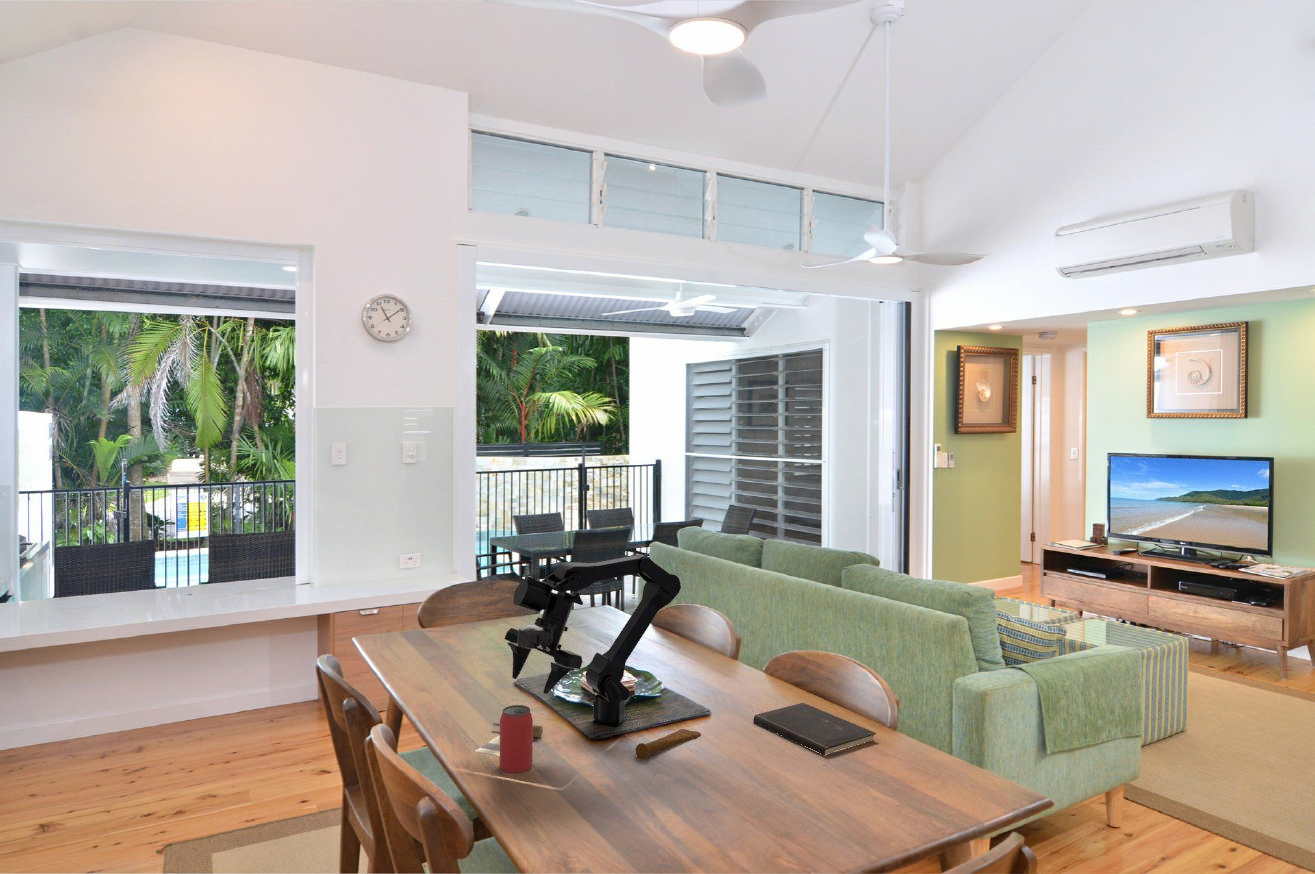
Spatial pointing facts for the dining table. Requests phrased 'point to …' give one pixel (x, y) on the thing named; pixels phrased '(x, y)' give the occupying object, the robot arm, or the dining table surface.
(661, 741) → the primitive tool
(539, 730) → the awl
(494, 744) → the plywood offcut
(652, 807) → the dining table surface
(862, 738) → the hardcover book
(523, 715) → the beer can
